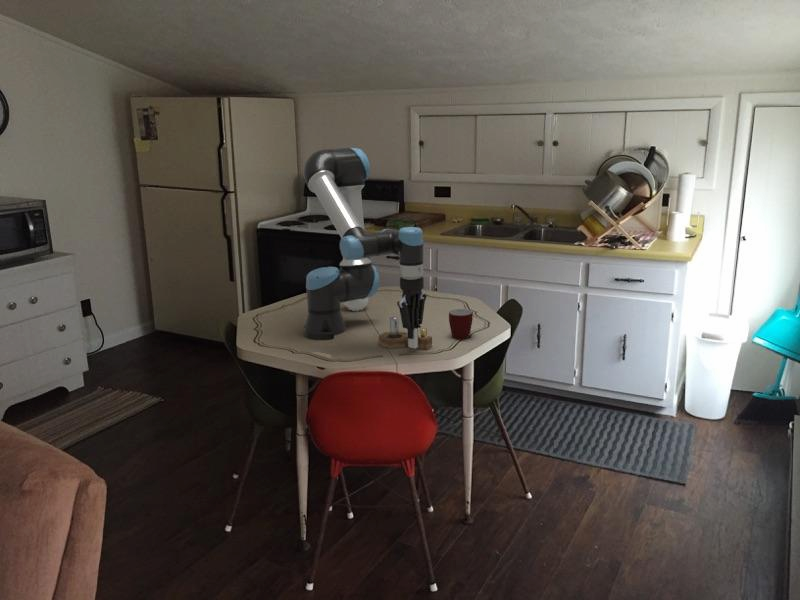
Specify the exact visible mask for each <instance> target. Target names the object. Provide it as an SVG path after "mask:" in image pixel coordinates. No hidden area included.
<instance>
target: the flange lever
mask: <svg viewBox="0 0 800 600" xmlns="http://www.w3.org/2000/svg"><path fill="white" fill-rule="evenodd" d="M378 343H379V345H380V346H381V347H382V348H388V349H400V348H401V349H402V348H409V347H408V332H406V331H399V338H396V339H392V338H390V331H386V332H383V333H381V334H380V335H378ZM432 347H433V336H431V335H427V337H426V338H422V337H420V336H418V347H417V348H416V349H418V350H420V349H421V350H425V351H428V350H430V349H431V348H432Z"/></svg>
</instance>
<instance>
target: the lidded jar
mask: <svg viewBox="0 0 800 600" xmlns="http://www.w3.org/2000/svg"><path fill="white" fill-rule="evenodd" d="M369 299H370V297H368V298H365V299H358V300H352V301H347V302H343V304H344V306H345V307H346V308H347V309H348V311H350V310H352V311H351V312H360V311H359V310H361V311H363V310H365V308H366V307H367V305H368V303H369Z"/></svg>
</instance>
